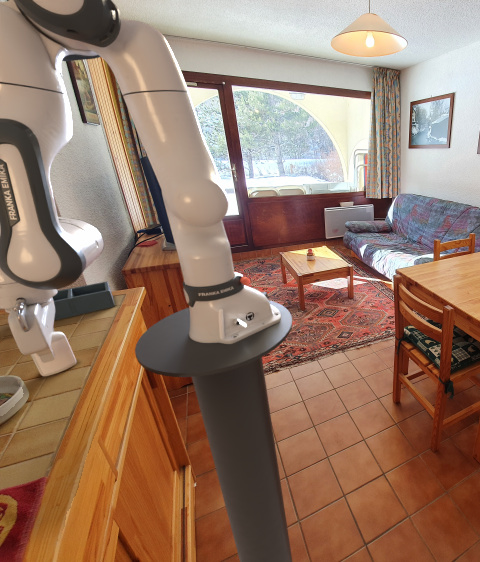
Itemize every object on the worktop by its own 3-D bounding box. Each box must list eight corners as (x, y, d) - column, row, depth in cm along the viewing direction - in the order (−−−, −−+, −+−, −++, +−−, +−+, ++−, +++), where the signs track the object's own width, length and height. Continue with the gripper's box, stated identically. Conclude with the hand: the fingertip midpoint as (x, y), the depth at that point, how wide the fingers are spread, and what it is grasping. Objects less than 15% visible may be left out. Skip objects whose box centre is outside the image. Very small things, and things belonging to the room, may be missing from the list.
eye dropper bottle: (73, 370, 66) (51, 321, 61) (37, 378, 63) (11, 328, 58) (79, 359, 69) (59, 312, 64) (45, 366, 67) (22, 318, 62)
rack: (112, 296, 99) (107, 281, 97) (115, 306, 93) (109, 290, 90) (35, 313, 88) (27, 296, 86) (31, 325, 82) (23, 307, 80)
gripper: (41, 304, 54) (70, 369, 59) (49, 272, 68) (71, 326, 73) (-14, 315, 50) (22, 384, 55) (6, 279, 64) (33, 336, 69)
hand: (50, 351), depth 64 cm, fingers open, 6 cm apart
